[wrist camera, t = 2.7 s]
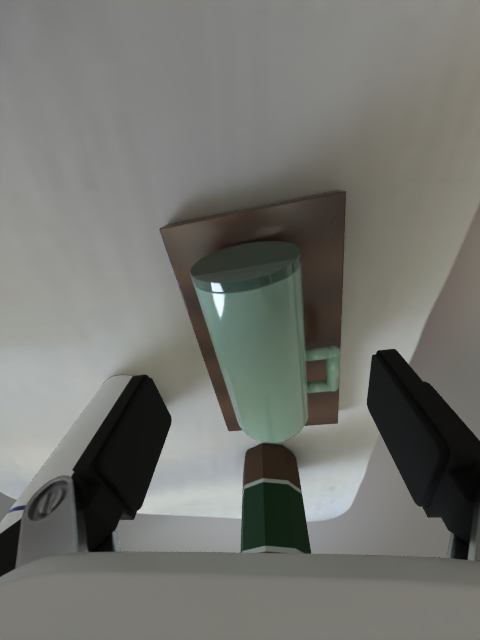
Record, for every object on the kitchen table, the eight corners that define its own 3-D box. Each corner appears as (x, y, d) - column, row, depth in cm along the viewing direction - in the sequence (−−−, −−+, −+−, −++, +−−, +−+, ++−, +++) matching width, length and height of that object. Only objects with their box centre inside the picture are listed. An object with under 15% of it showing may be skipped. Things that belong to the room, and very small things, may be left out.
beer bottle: (307, 452, 33) (397, 907, 12) (278, 477, 37) (310, 857, 16) (258, 435, 31) (268, 920, 11) (233, 462, 35) (205, 861, 15)
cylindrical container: (158, 378, 27) (-219, 1168, 5) (162, 418, 30) (-53, 982, 9) (96, 371, 27) (-542, 1148, 5) (107, 412, 30) (-242, 968, 9)
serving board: (165, 225, 18) (158, 228, 17) (338, 190, 16) (346, 191, 15) (229, 420, 30) (228, 431, 29) (334, 412, 28) (337, 423, 27)
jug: (237, 383, 24) (200, 251, 17) (327, 374, 23) (329, 228, 16) (233, 445, 19) (176, 290, 12) (350, 438, 18) (370, 259, 10)
